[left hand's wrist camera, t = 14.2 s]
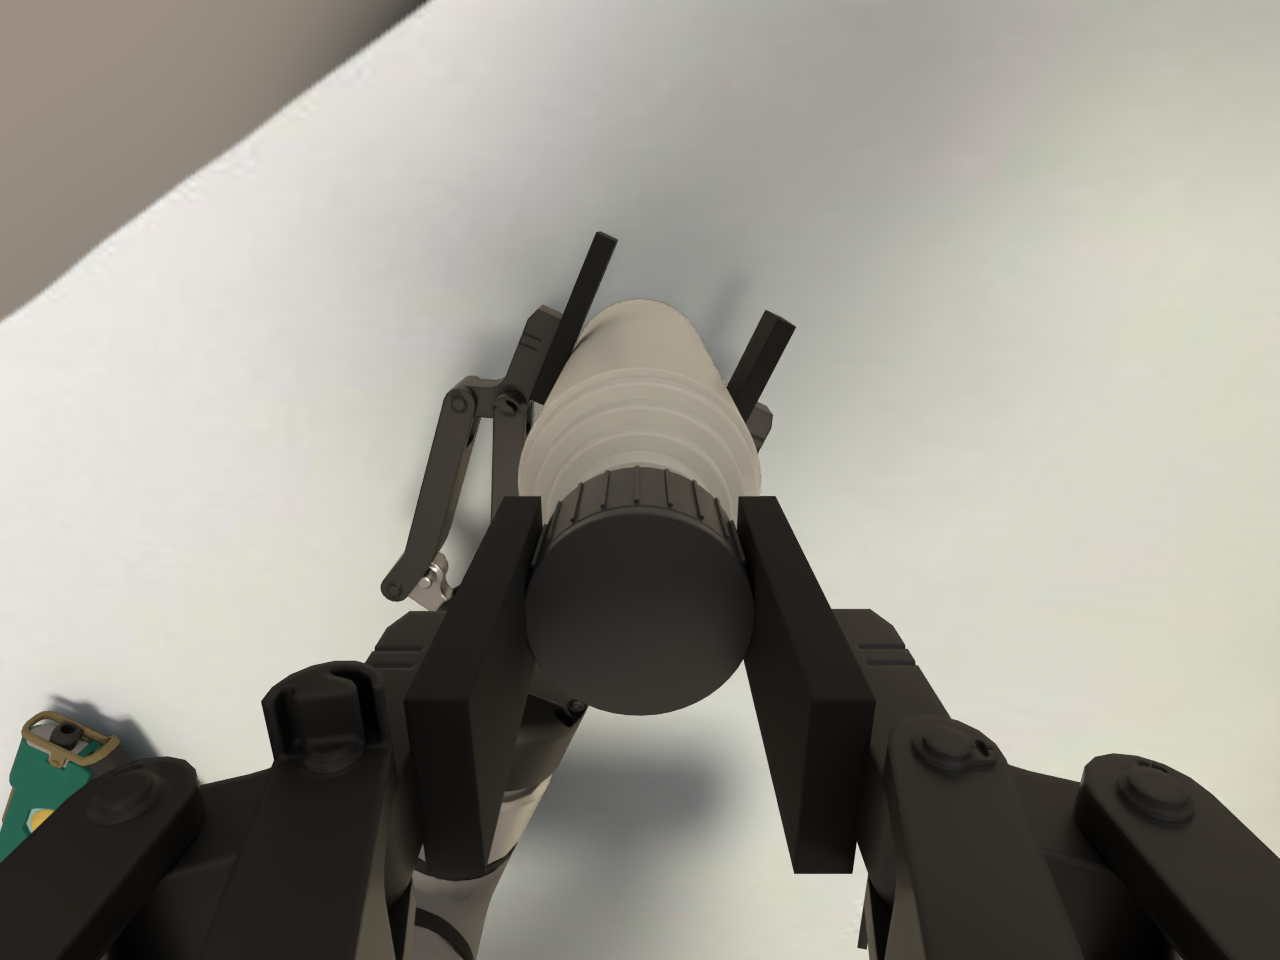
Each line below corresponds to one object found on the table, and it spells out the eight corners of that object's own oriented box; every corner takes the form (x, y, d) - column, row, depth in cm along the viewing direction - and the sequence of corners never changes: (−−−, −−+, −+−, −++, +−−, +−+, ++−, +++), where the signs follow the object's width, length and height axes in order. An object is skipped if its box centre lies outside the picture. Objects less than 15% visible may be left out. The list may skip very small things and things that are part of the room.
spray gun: (145, 945, 48) (-50, 814, 45) (286, 830, 44) (80, 675, 40) (96, 1010, 45) (-121, 873, 41) (246, 893, 40) (13, 726, 36)
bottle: (728, 333, 34) (884, 528, 12) (671, 450, 36) (718, 792, 14) (605, 275, 33) (540, 376, 11) (553, 398, 35) (414, 682, 13)
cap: (743, 460, 14) (763, 506, 12) (737, 643, 15) (754, 717, 13) (531, 464, 14) (510, 511, 12) (546, 647, 15) (530, 721, 13)
